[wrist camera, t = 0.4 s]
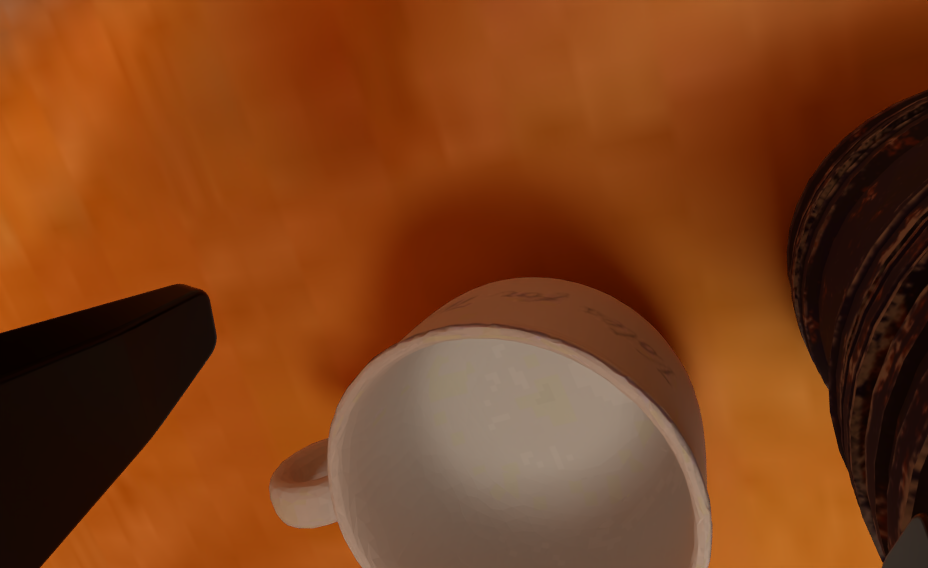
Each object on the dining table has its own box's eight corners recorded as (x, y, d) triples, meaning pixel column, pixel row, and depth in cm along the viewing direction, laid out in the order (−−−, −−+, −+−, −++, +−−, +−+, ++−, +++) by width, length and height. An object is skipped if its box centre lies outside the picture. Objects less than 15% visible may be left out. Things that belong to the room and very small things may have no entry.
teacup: (723, 261, 22) (723, 342, 15) (707, 550, 25) (701, 739, 17) (347, 248, 27) (208, 305, 19) (369, 492, 29) (254, 620, 22)
